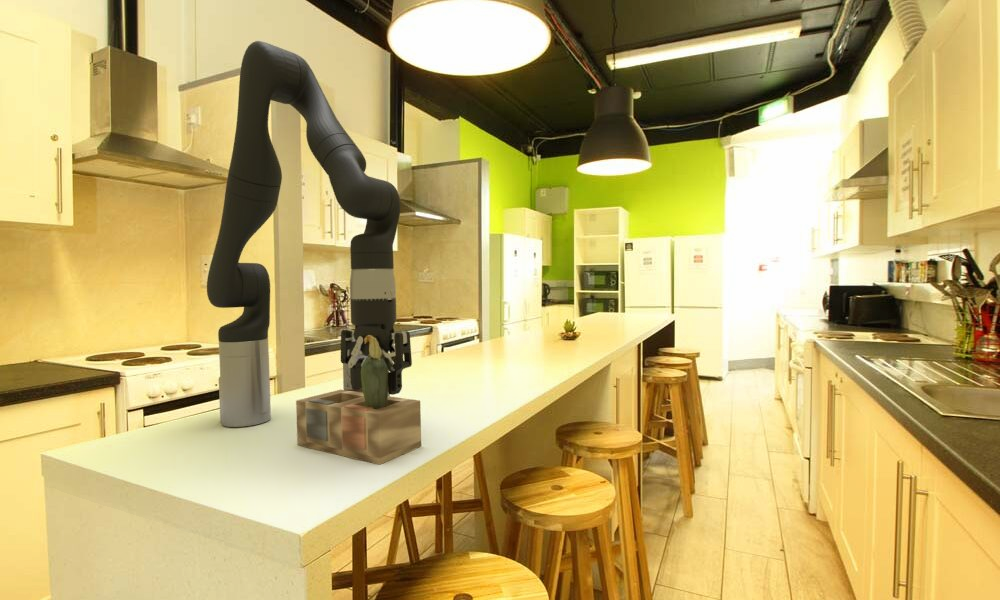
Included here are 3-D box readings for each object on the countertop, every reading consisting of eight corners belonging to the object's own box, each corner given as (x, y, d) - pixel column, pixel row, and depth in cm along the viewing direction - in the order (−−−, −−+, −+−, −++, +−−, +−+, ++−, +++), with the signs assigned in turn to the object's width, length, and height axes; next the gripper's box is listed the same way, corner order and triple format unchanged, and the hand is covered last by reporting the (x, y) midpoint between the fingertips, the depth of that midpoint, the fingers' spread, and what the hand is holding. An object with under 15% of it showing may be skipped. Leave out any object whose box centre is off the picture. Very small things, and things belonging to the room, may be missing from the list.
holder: (296, 445, 89) (294, 399, 89) (341, 430, 98) (340, 388, 98) (378, 465, 79) (377, 412, 79) (421, 446, 88) (420, 398, 87)
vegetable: (390, 439, 88) (395, 334, 82) (377, 453, 84) (381, 343, 78) (368, 432, 89) (370, 328, 83) (354, 445, 85) (356, 337, 79)
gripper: (326, 297, 86) (329, 391, 86) (388, 297, 78) (391, 400, 79) (360, 295, 92) (362, 383, 93) (420, 295, 85) (422, 390, 85)
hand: (375, 391), depth 86 cm, fingers open, 8 cm apart
